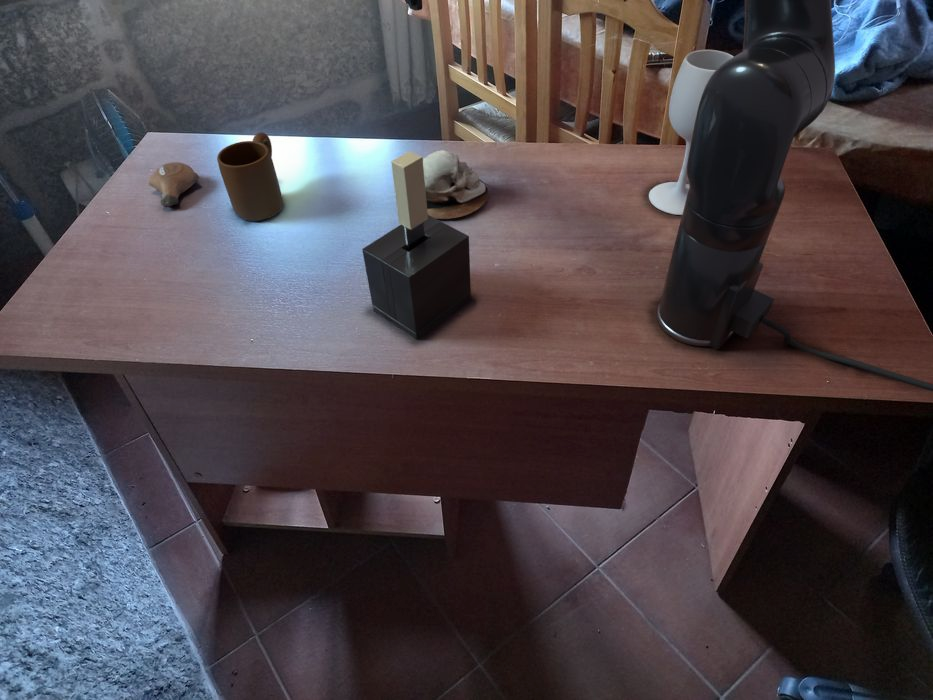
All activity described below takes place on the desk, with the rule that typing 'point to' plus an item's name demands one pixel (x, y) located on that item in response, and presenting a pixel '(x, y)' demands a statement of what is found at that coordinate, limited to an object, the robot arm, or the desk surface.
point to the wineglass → (686, 120)
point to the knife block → (419, 276)
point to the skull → (451, 186)
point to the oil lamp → (172, 181)
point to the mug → (251, 178)
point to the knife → (410, 197)
